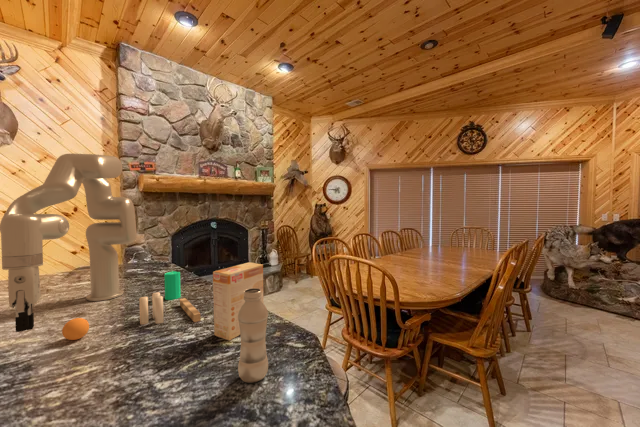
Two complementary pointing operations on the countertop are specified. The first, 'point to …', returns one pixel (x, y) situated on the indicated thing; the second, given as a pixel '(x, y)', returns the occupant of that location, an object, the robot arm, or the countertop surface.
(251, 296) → the plastic bottle
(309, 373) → the countertop surface
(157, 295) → the back pin far
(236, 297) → the coffeecake box
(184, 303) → the back wall
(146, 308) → the front pin
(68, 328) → the ball
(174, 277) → the candle
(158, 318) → the back pin near
